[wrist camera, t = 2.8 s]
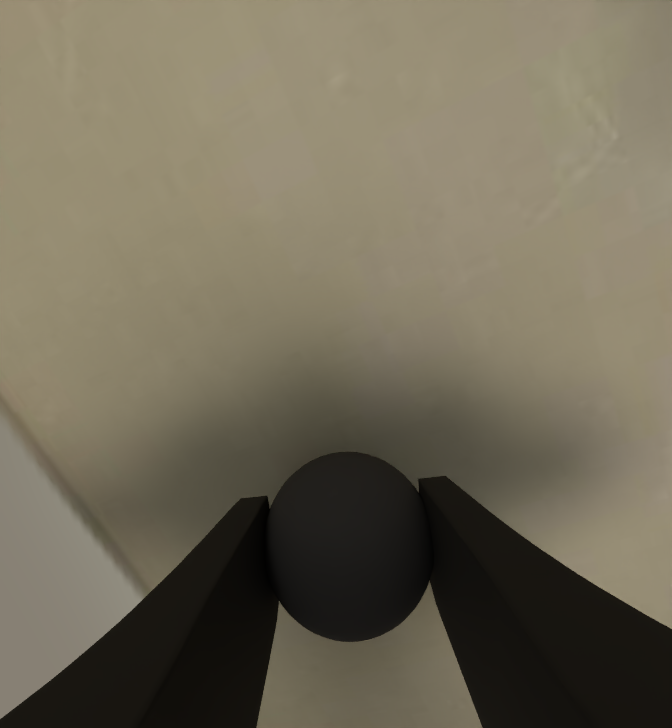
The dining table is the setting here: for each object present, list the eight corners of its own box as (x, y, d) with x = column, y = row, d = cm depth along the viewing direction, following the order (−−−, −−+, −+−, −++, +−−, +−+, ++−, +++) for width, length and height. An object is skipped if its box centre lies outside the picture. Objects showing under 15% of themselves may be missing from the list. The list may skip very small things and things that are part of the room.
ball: (417, 539, 10) (463, 681, 7) (287, 553, 10) (264, 702, 7) (408, 418, 9) (456, 509, 6) (265, 434, 9) (227, 534, 6)
